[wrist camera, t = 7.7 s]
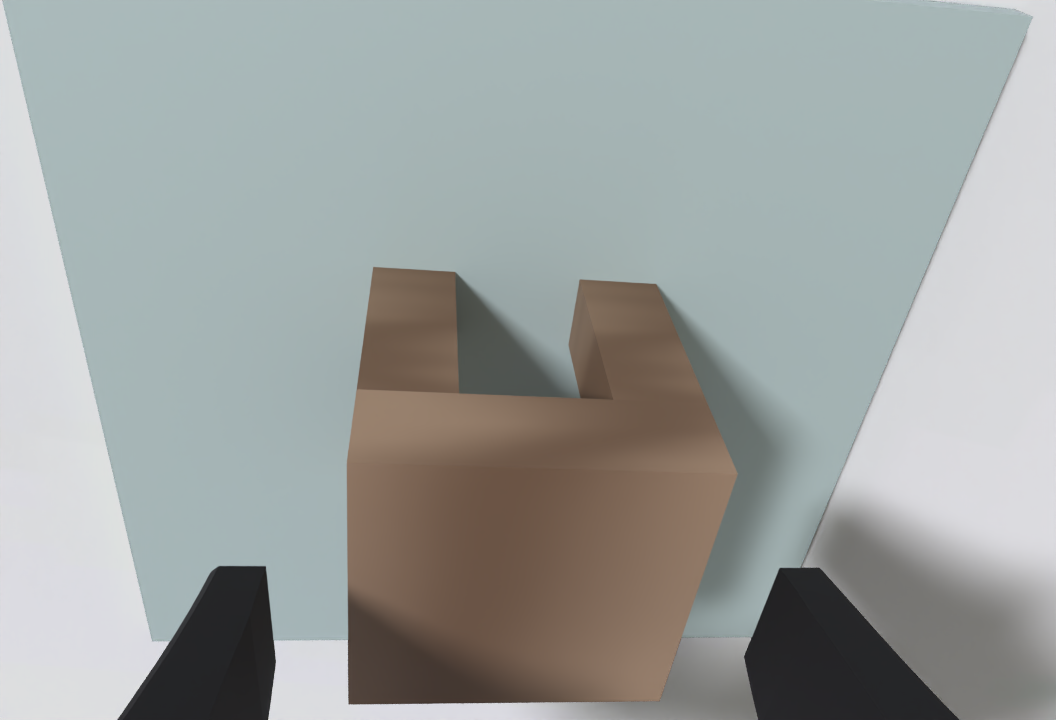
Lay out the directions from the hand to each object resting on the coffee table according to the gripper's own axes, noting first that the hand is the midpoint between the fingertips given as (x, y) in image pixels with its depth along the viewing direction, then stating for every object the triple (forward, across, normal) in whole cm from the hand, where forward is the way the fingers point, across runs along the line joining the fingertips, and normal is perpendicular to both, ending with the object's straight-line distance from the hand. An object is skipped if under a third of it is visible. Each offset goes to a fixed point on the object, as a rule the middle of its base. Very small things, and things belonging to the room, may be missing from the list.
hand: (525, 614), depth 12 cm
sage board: (+6, 0, 0) cm, 6 cm away
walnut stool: (+5, 0, 0) cm, 5 cm away
